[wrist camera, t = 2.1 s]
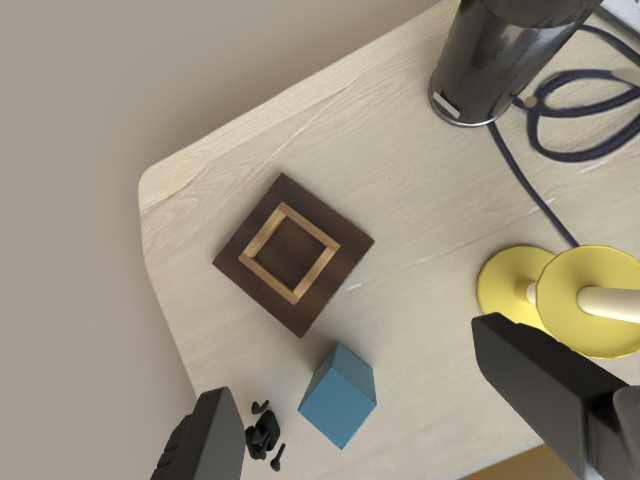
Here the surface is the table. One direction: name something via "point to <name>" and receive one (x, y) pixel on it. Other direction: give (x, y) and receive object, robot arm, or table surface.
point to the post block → (339, 396)
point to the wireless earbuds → (264, 435)
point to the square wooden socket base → (292, 254)
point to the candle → (568, 296)
